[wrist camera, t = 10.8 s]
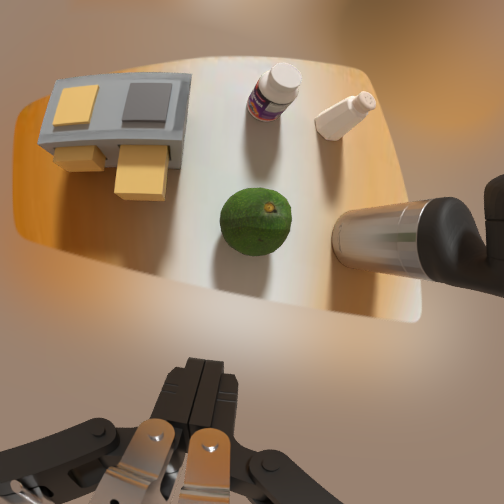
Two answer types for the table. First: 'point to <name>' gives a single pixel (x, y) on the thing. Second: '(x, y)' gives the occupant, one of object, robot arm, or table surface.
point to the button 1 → (80, 158)
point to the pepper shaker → (344, 115)
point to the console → (118, 113)
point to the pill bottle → (274, 92)
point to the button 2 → (142, 172)
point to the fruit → (256, 221)
